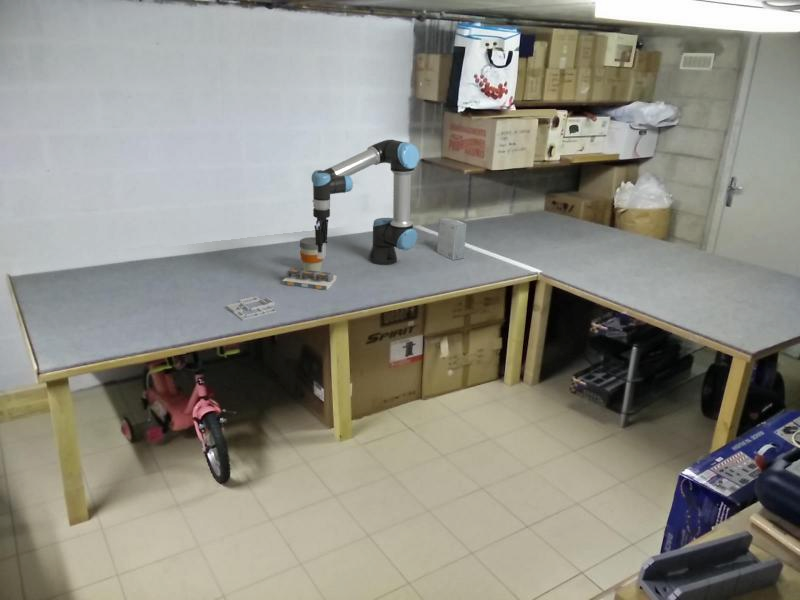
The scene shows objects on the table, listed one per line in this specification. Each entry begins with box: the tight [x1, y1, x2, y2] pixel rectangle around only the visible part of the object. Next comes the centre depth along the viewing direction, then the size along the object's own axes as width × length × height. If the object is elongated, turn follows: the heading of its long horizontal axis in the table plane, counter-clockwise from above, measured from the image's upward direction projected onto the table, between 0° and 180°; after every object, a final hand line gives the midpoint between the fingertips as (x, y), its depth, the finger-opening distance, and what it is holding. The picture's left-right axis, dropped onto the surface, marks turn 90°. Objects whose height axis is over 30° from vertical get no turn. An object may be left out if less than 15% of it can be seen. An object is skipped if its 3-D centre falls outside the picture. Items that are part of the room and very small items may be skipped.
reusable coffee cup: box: [299, 236, 324, 271], centre depth 315 cm, size 12×13×15 cm
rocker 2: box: [317, 271, 332, 278], centre depth 298 cm, size 5×10×1 cm, turn 168°
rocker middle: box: [302, 270, 317, 276], centre depth 299 cm, size 5×10×1 cm, turn 168°
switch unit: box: [282, 267, 337, 291], centre depth 300 cm, size 22×16×5 cm
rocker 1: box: [288, 268, 304, 274], centre depth 300 cm, size 5×10×1 cm, turn 169°
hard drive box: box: [436, 217, 468, 261], centre depth 347 cm, size 16×8×20 cm, turn 34°
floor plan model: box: [226, 296, 277, 321], centre depth 270 cm, size 19×25×2 cm
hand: (321, 257), depth 291 cm, fingers open, 2 cm apart
